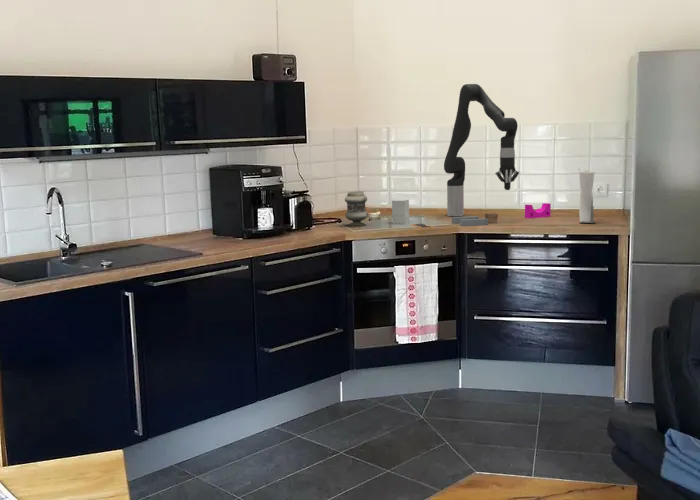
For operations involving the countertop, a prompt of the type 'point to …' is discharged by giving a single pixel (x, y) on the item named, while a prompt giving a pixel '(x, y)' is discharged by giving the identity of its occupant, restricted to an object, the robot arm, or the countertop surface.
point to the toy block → (538, 211)
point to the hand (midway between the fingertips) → (507, 189)
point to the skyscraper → (586, 196)
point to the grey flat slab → (469, 221)
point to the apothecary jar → (356, 208)
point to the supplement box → (400, 211)
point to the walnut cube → (491, 217)
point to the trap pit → (422, 226)
